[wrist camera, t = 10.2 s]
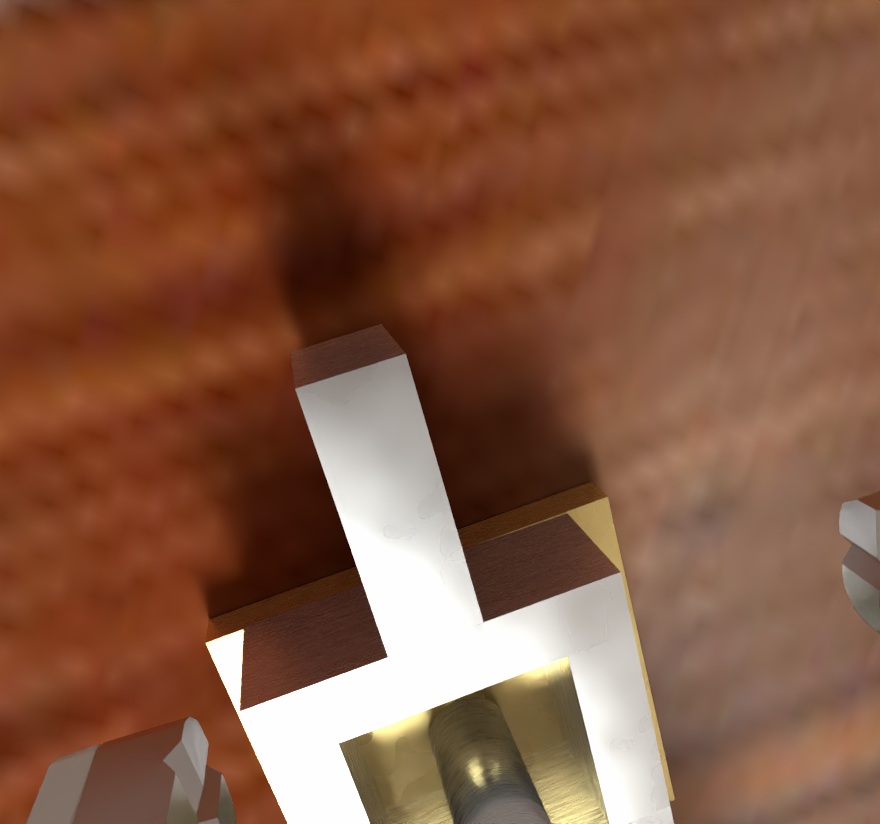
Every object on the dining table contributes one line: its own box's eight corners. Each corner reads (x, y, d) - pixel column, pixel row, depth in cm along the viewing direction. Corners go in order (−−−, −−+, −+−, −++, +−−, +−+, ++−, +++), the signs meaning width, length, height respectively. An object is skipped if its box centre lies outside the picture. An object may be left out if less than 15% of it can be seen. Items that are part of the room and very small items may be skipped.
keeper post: (591, 481, 19) (722, 602, 14) (657, 773, 23) (786, 967, 17) (208, 619, 18) (183, 813, 13) (337, 906, 22) (363, 1160, 16)
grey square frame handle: (146, 396, 16) (120, 443, 13) (513, 282, 17) (564, 303, 14) (347, 874, 20) (360, 986, 17) (624, 763, 21) (679, 852, 18)
